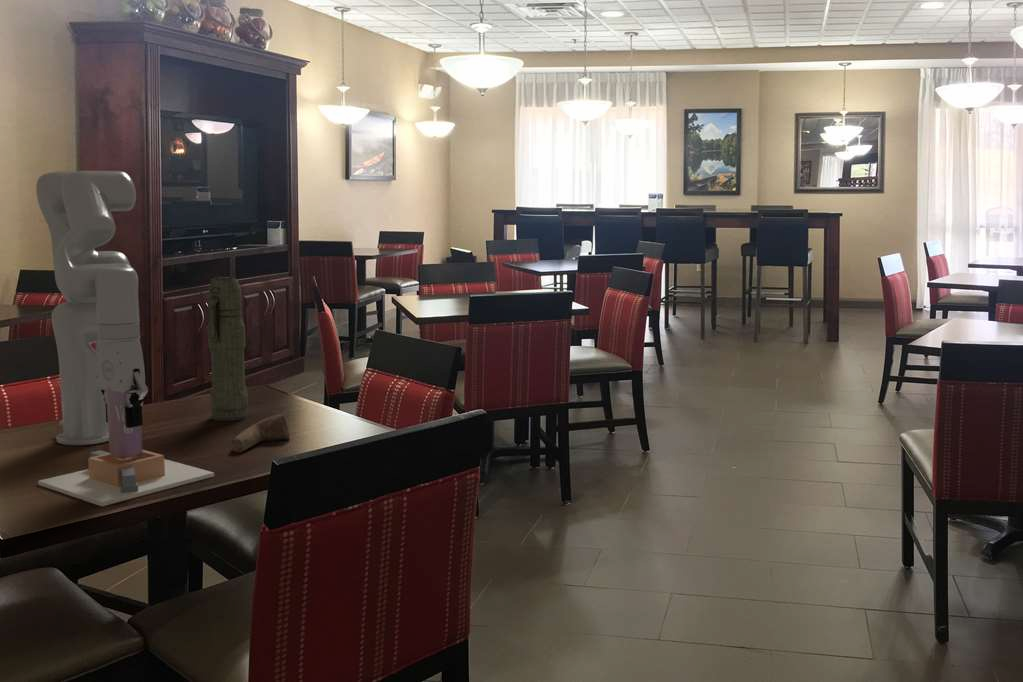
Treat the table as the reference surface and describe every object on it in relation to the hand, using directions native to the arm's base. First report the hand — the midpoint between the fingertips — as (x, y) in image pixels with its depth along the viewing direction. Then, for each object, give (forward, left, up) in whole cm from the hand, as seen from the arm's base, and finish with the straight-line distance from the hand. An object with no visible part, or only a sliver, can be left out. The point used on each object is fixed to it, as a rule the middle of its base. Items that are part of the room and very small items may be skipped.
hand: (124, 423), depth 193 cm
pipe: (-2, +35, -12) cm, 37 cm away
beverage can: (0, 0, -7) cm, 7 cm away
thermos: (-30, +47, -12) cm, 57 cm away
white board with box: (0, 0, -11) cm, 11 cm away
